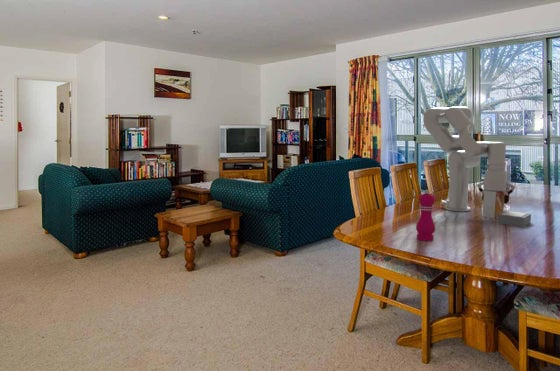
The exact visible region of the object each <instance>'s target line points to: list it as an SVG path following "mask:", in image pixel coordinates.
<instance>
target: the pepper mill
mask: <svg viewBox="0 0 560 371" xmlns="http://www.w3.org/2000/svg"><path fill="white" fill-rule="evenodd" d="M435 201H436V199H435V197H434V195H432V194H431V193H430V190H429V189H425V190H424V193H422V194H421V195H420V196H419V198H418V203H419V209H420V217H419V219H418V221H417V223H416V226H415V230H416V232H417V235H416V239H417V240H419V241H422V242H432V241H434V233H435V232H436V226H435V222H434V220H433V215H432V214H433V213H432V212H433V210H434V206H433V205H434V204H435Z"/></svg>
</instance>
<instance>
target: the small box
mask: <svg viewBox="0 0 560 371" xmlns="http://www.w3.org/2000/svg"><path fill="white" fill-rule="evenodd" d="M504 196H505V193H504V192H503V191H484V199H483V200H482V202H483V203H482V204H483V205H482V217H484V218H489V219H498V214H500V213H502V212H504V211H505V210H504V209H505V203H504Z"/></svg>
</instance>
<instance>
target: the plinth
mask: <svg viewBox="0 0 560 371" xmlns="http://www.w3.org/2000/svg"><path fill="white" fill-rule="evenodd" d="M496 219H497V221H496V223H497V224H501V225H503V224H504V225H510V226H516V227H523V228H524V227H526V226H527V225H529V224H530V223H531V219H532V213H526V212H518V211H513V210H512V211H509V210H503V212H502V213H500V214H498V218H496Z"/></svg>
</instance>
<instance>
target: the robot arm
mask: <svg viewBox="0 0 560 371" xmlns="http://www.w3.org/2000/svg"><path fill="white" fill-rule="evenodd" d="M471 118H472V110H470V108H469V107H467V106H463V105H462V106H461V105H460V106H457V105H456V106H450V107H435V106H434V107H431V108H428V109H426V111H425V112H424V113H423V117H422V119H423V125H424V128H425V130H426V131H427V132H428V133H429V134H430V135H431V137H432V138H433V139H434V141H435V142H436V144H437V145H438V146H439V147H440V149H441V150H442V152H444V153H446V154H449V155H448V159H447V162H448V163H447V164H448V171H449V172H448V173H449V176H448V177H449V178H448V199H447V200H443V199H441V201H440V203H441V205H445V206H444V209H445V210H448V211H450V212H451V211H452V212H469V211H471V207H470V206H468V202H469V201H468V200H469V199H468V197H469V182H470V181H469V180H470V179H469V178H470V176H469V175H470V174H469V172H468V169H469V168H470V169H471V168H475V167H478V166H479V164H480V163H481V157H483V158H484V157H485V158H486V157H487V164H484V168H485V169H486V168H487V170H485V173H484V176H483V181H481V182H480V183H477V184H476V187H477V188H478V190H479V192H480V193H481V194H482V195H481V196H482V197H481V200H482V201H483V199H484V191H503V192H504V193H505V196H504V205H505V204H508V202H510V195H511V194H512V193H513V192H514V191H515V189H516V185H514V184H512V183H510V182H509V180H508V172H507V170H506V151H507V150H506V148H507V144H506V143H505V142H503V141H476V140H475V138H473V137H472V135H471V132H472V131H473V130H474V127H475V124H474V123H473V122H472V120H471ZM444 123H445V124H448V123H449V124H450V125H451V126H452V128H453V129H454V130H455V131H456V133H457V134H458V135H455V134H454V135H453V134H452V133H451V132H450V131H449V129H448V128H447V127H446V126H444V125H443V124H444ZM482 186H483V187H482ZM508 188H510V190H508Z"/></svg>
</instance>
